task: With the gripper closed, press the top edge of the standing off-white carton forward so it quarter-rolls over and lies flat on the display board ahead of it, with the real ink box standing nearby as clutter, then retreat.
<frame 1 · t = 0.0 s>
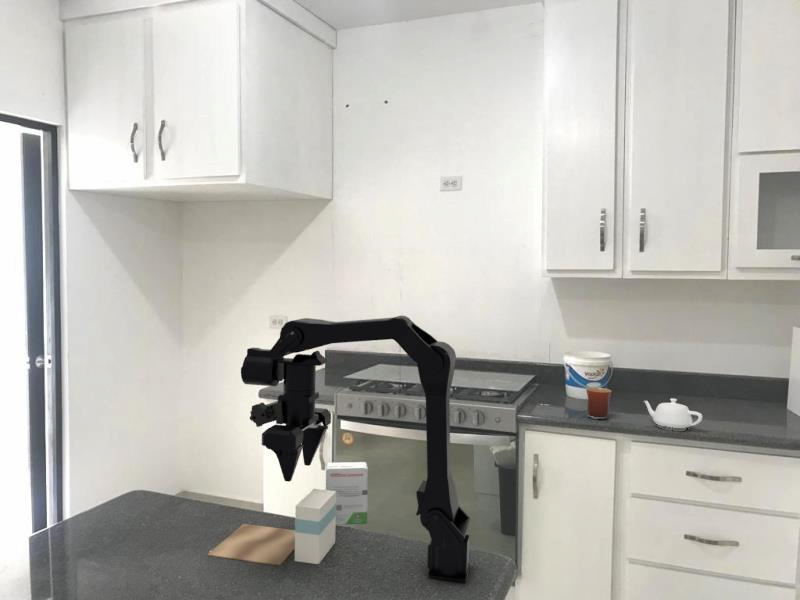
hand: (297, 472, 115), 15 cm above the countertop, fingers open, 9 cm apart
teapot: (670, 428, 215), on the countertop
carton: (315, 551, 116), on the countertop
board: (260, 543, 118), on the countertop
ink box: (345, 521, 130), on the countertop
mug: (595, 417, 228), on the countertop
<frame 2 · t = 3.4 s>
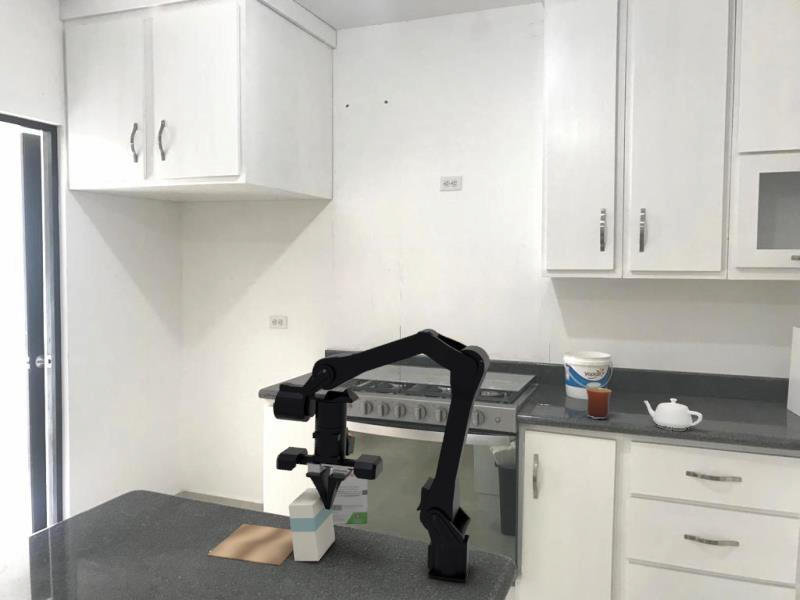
hand: (328, 508, 115), 8 cm above the countertop, fingers closed
carton: (315, 549, 116), on the countertop, tilted 8°
everything else where it was.
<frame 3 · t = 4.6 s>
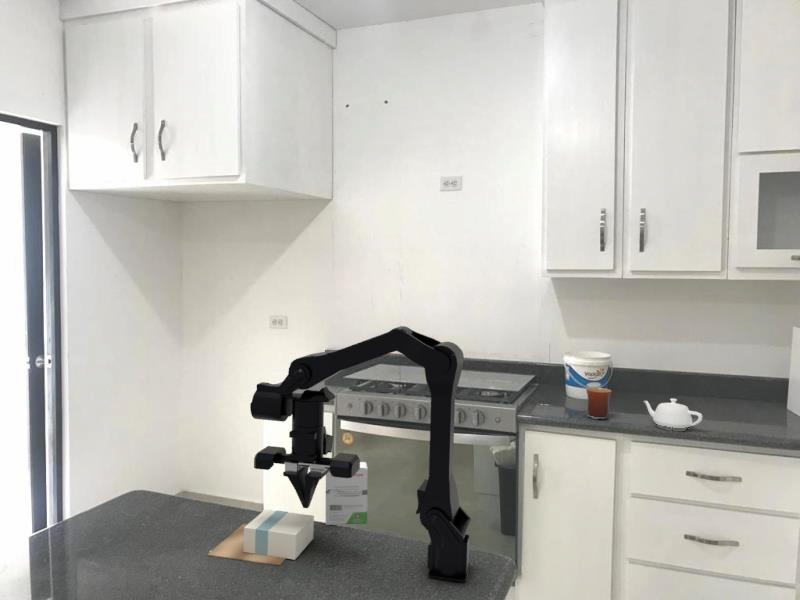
hand: (306, 507, 116), 8 cm above the countertop, fingers closed
carton: (304, 536, 116), point 2 cm above the countertop, tilted 89°, touching board
everything else where it was.
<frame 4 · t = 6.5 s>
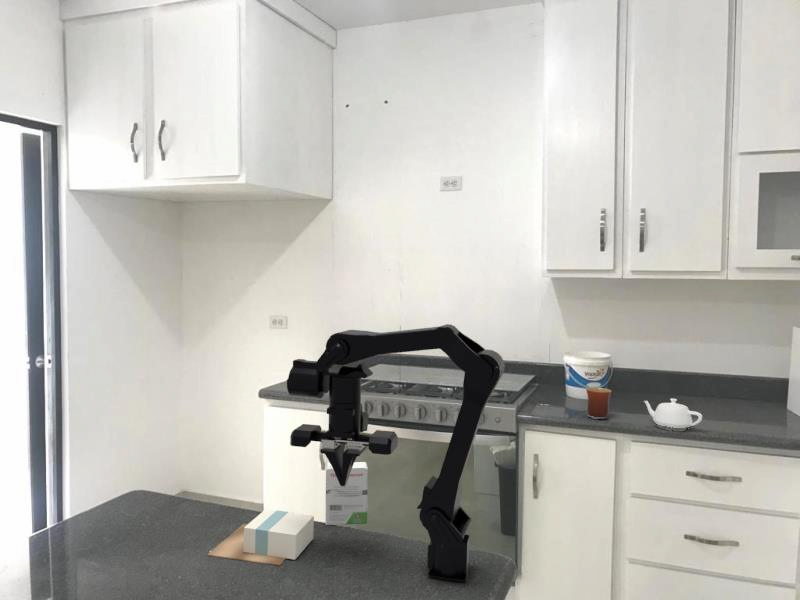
hand: (343, 485, 114), 13 cm above the countertop, fingers closed
nothing on the countertop moved.
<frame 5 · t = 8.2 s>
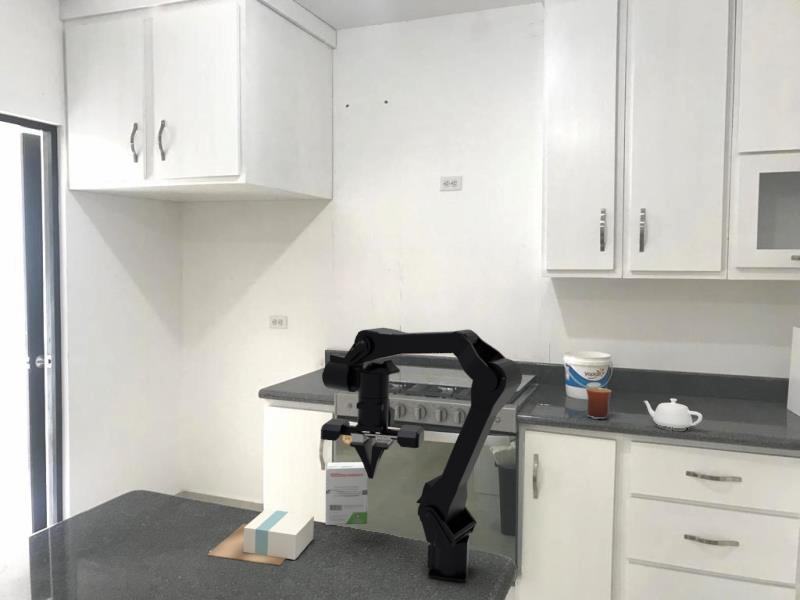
hand: (371, 478, 118), 13 cm above the countertop, fingers closed
nothing on the countertop moved.
at the end: carton tilted 89°; carton inside the target area (5.8 cm from its centre), point 2.4 cm above the countertop; carton touching board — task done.
